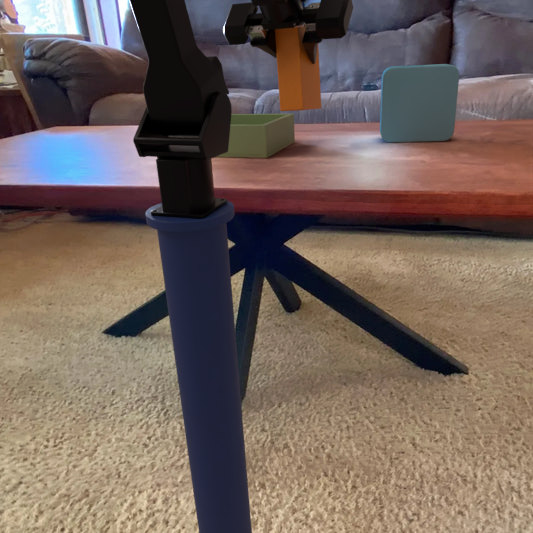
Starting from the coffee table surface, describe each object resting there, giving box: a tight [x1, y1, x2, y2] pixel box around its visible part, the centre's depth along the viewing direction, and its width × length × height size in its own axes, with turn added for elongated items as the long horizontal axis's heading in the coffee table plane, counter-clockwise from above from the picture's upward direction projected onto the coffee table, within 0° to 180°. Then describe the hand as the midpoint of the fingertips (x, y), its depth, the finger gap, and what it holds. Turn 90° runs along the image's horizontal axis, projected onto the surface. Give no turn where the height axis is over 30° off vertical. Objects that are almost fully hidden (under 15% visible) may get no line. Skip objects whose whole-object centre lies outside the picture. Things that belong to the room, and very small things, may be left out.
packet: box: [275, 27, 322, 112], centre depth 81 cm, size 4×7×13 cm, turn 151°
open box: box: [215, 113, 296, 159], centre depth 88 cm, size 15×15×5 cm
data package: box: [379, 63, 460, 143], centre depth 86 cm, size 12×4×12 cm, turn 81°
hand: (301, 62), depth 81 cm, fingers closed on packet, 4 cm apart
